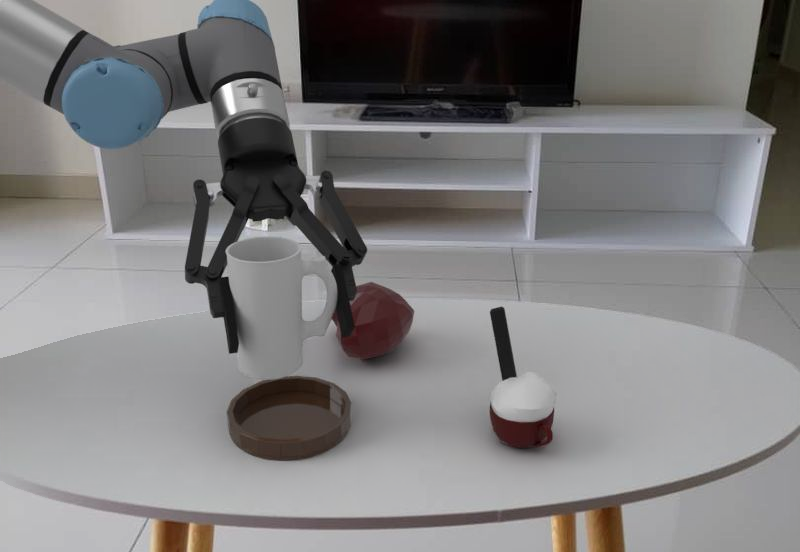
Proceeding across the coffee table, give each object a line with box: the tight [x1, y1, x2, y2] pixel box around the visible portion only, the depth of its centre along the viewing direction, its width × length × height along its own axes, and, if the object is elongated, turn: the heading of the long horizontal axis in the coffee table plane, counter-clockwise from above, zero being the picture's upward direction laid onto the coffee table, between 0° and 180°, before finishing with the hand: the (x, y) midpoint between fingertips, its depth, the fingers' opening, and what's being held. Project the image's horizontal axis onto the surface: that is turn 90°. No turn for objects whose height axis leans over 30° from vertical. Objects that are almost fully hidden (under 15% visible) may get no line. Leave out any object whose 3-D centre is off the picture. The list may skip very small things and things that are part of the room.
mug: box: [226, 235, 338, 381], centre depth 71 cm, size 10×7×12 cm, turn 100°
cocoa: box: [489, 306, 557, 449], centre depth 72 cm, size 10×6×12 cm, turn 4°
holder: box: [226, 375, 353, 461], centre depth 75 cm, size 12×12×2 cm
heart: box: [331, 281, 415, 360], centre depth 90 cm, size 12×8×10 cm
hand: (292, 340), depth 69 cm, fingers closed on mug, 10 cm apart
